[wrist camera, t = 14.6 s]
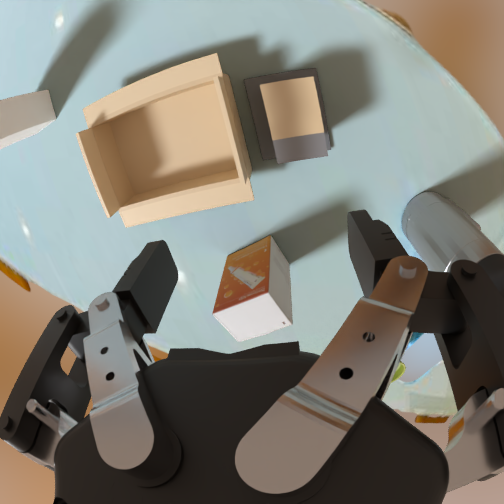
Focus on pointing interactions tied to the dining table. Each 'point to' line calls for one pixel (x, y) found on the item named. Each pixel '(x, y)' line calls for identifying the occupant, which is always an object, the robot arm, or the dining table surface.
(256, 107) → the slate mat
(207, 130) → the carton
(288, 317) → the small box
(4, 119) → the milk
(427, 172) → the dining table surface
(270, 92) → the block
